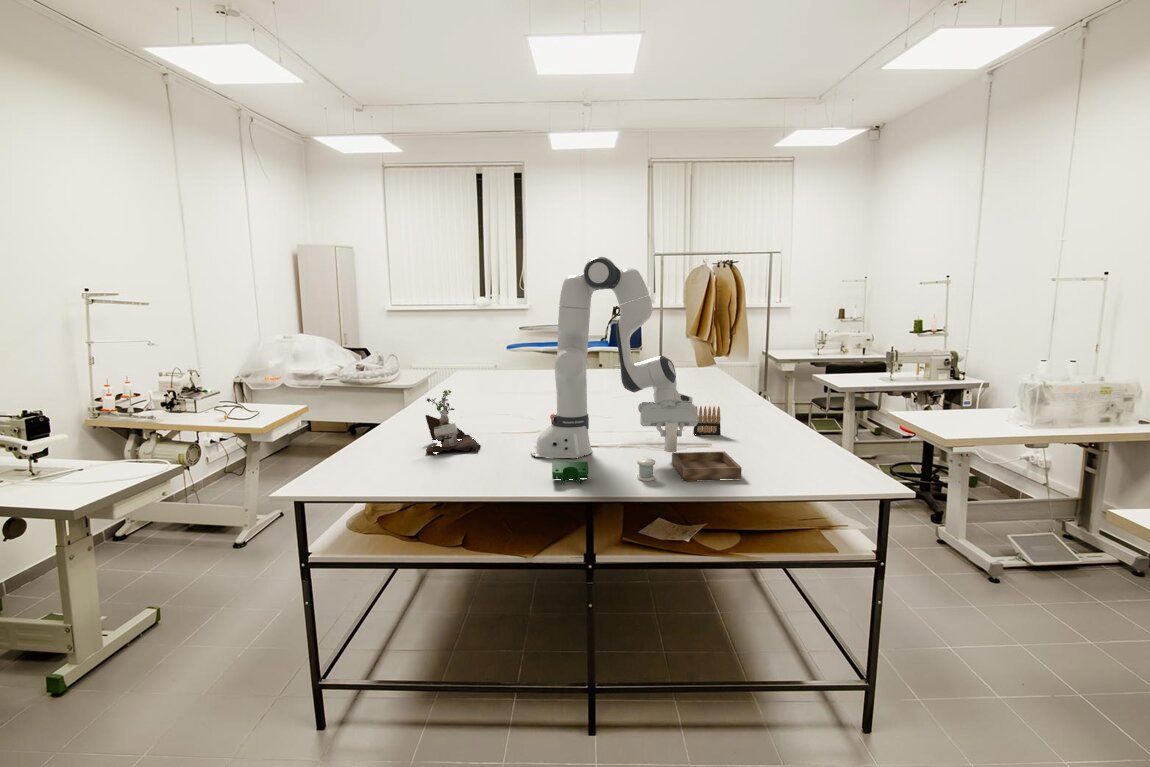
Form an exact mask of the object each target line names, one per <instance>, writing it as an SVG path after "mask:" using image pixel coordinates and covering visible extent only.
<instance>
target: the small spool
mask: <svg viewBox="0 0 1150 767" xmlns="http://www.w3.org/2000/svg"><path fill="white" fill-rule="evenodd" d="M636 464H637V465H638V474H637V476H636V478H638V479H639V480H638V479H637V480H638V481H640V480H643V481H642V482H652V481H651V480H653V481H655V480H656V475H655V474H654V465H656V459H653V458H648V457H647V458H646V457H644V458H639V459H637V461H636ZM654 479H655V480H654Z"/></svg>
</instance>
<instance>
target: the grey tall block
mask: <svg viewBox="0 0 1150 767" xmlns="http://www.w3.org/2000/svg"><path fill="white" fill-rule="evenodd" d="M664 430H665V433H666V435H665V437H664V445H663V447H664V450H663V451H664V452H666V453H677V449H678V447H677V446H678V437H677V430H679V426H678V422H675V421H674V420H669V421H666V422H665V426H664Z"/></svg>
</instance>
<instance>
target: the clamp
mask: <svg viewBox="0 0 1150 767" xmlns="http://www.w3.org/2000/svg"><path fill="white" fill-rule="evenodd" d="M551 471H552V472H551V476H552V477H551V478H552V480H553V479H561V481H560V482H562V483H563V484H564V482H566V481H565V480H569V479H573V480H575V481H576V480H577V481H578V482H577V481H576V482H577V484H578V483H580V481H581V480H580V478H587V479H588V478H589V474H590V473H589V463H588V461H565V462H564V461H562V462H561V461H560V462H556V461H555V462H552V463H551ZM563 481H564V482H563ZM562 483H561V484H562Z"/></svg>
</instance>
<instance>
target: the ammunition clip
mask: <svg viewBox="0 0 1150 767" xmlns="http://www.w3.org/2000/svg"><path fill="white" fill-rule="evenodd" d="M695 407H696V410H697V413H698V417H699V421H698V424H697V425H696V426H693V433H692V434H694V435H693V436H701V435H721V432H722V431H721V408H720V406H719V405H718V406H717V408H716V406H715V405H714V406H713V408H711V406H710V405H709V407H708V409H707V406H706V405H704V408H703V407H702V406H701V405H700V406H699V409H698V406H697V405H695ZM707 410H708V411H707ZM695 434H696V435H695Z"/></svg>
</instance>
